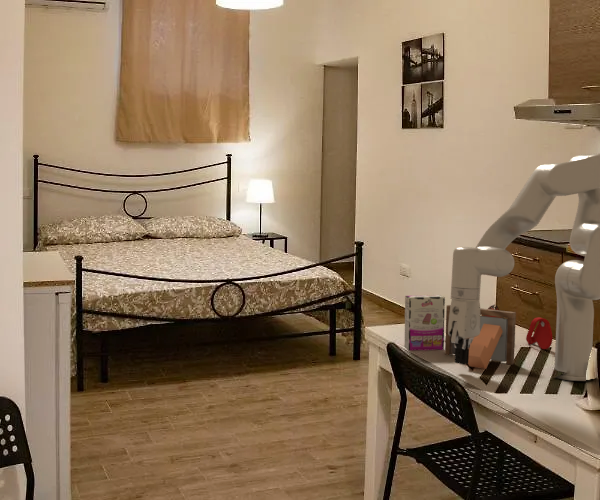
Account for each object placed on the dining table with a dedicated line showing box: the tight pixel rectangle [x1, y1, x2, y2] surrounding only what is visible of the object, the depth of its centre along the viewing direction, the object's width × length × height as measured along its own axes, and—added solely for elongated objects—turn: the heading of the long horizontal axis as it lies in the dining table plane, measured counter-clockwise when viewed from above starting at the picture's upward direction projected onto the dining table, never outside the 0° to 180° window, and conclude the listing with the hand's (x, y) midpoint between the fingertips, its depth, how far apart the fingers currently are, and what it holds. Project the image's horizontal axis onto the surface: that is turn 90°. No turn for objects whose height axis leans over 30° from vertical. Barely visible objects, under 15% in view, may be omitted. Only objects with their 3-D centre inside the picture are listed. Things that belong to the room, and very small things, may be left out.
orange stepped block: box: [467, 324, 503, 370], centre depth 230 cm, size 5×13×6 cm
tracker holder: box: [525, 317, 553, 350], centre depth 257 cm, size 12×4×10 cm, turn 16°
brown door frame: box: [444, 304, 517, 366], centre depth 239 cm, size 20×2×14 cm, turn 52°
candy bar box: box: [403, 294, 446, 351], centre depth 252 cm, size 11×5×16 cm, turn 101°
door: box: [452, 315, 508, 363], centre depth 239 cm, size 17×3×12 cm, turn 52°
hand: (461, 363), depth 222 cm, fingers closed
